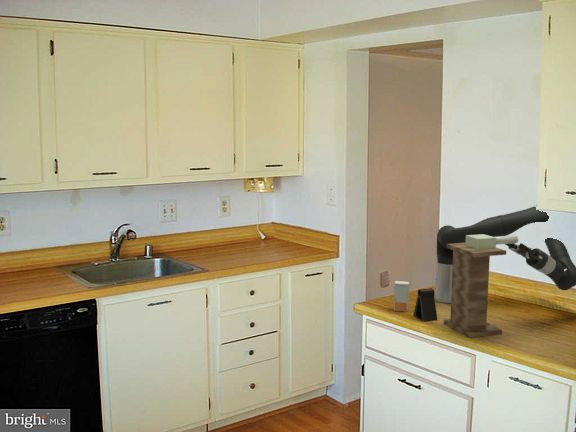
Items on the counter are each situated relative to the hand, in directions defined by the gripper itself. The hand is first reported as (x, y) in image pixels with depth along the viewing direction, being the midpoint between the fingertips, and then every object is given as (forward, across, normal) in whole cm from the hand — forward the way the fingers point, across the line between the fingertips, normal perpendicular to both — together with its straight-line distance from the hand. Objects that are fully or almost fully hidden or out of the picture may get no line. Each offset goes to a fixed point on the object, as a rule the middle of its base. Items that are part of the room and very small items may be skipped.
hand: (512, 243), depth 265 cm
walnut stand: (-2, 0, +36) cm, 36 cm away
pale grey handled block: (+7, 0, +5) cm, 9 cm away
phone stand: (+6, -18, +42) cm, 46 cm away
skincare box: (+10, -31, +44) cm, 54 cm away
